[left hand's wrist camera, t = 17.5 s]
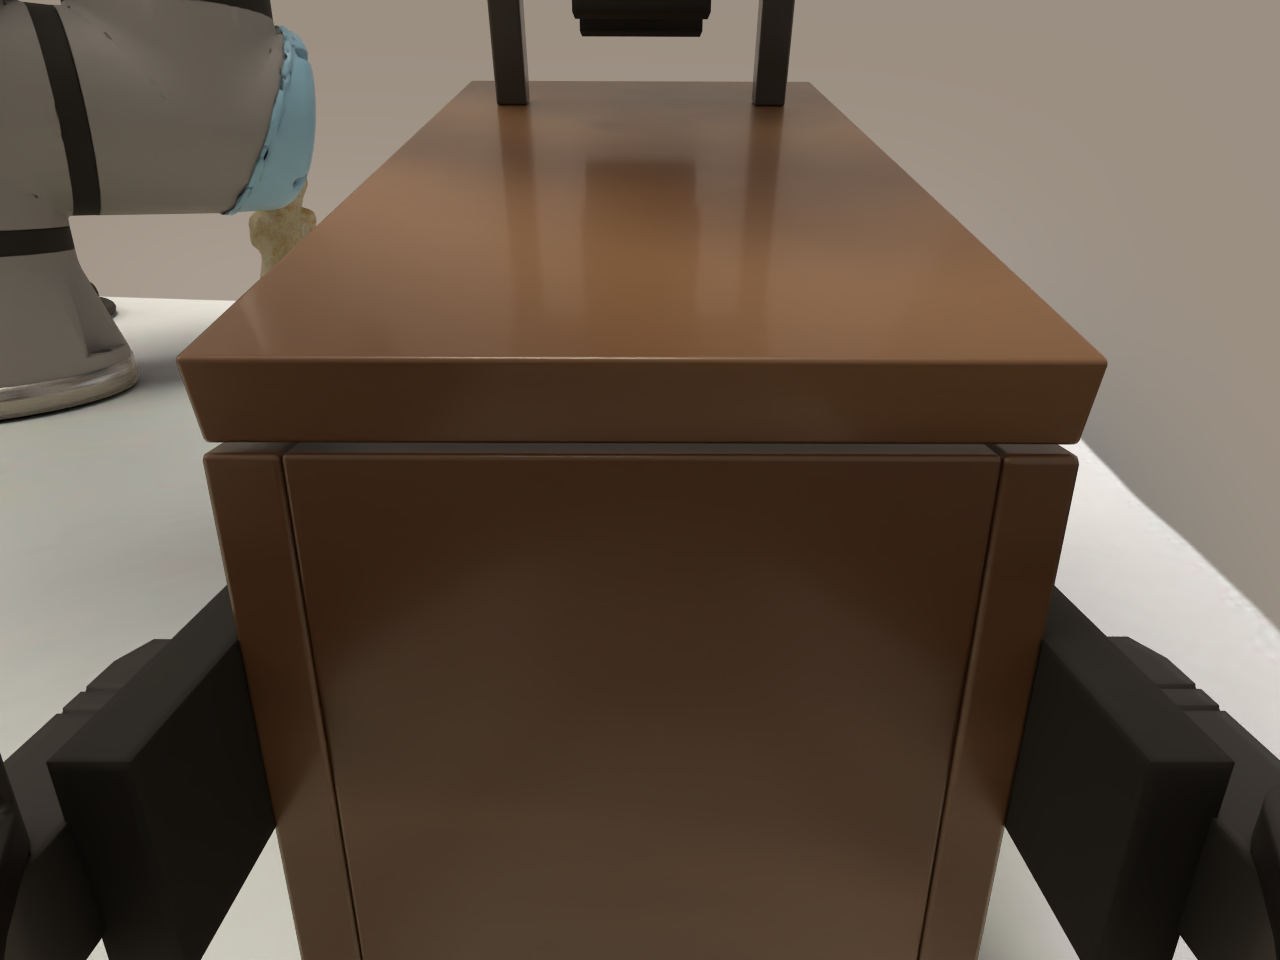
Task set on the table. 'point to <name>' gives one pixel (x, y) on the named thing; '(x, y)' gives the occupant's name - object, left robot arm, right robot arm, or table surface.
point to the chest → (640, 690)
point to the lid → (641, 284)
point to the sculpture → (280, 230)
